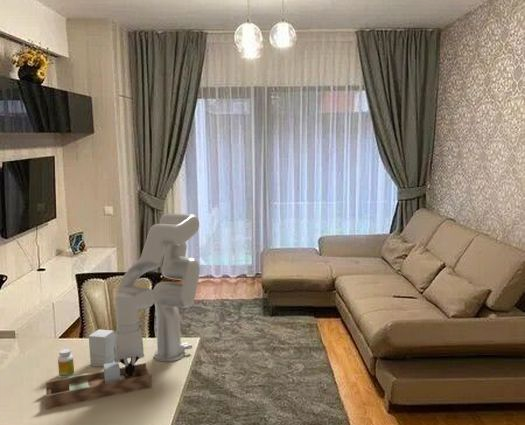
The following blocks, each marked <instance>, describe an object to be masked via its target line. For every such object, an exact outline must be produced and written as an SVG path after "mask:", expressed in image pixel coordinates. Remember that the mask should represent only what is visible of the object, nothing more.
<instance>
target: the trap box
mask: <svg viewBox="0 0 525 425" xmlns="http://www.w3.org/2000/svg"><path fill="white" fill-rule="evenodd" d="M152 387H153V384H152V374H151V373H150V374H149V371H148V370H147V363H146V362H144V363H139V364H135V365H134V372H133V376H131V375H130V376H129V377H128V374H126V372H125V366H124V367H120V380H119V381H114V382H109V383H105V379H104V370H101V371H96V372H91V373H90V372H89V373H88V372H87V373H82V374H76V375H75V374H74V375H72V376H70V377H66V378H59V379H53V380H48V381H45V392H46V393H45V405H46V410H48V409H53V408H57V407H62V406H67V405H68V406H69V405H73V404H77V403H82V402H87V401H92V400H96V399H101V398H104V397H106V398H107V397H110V396H115V395H121V394H126V393H129V392H135V391H139V390H143V389H149V388H152Z"/></svg>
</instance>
